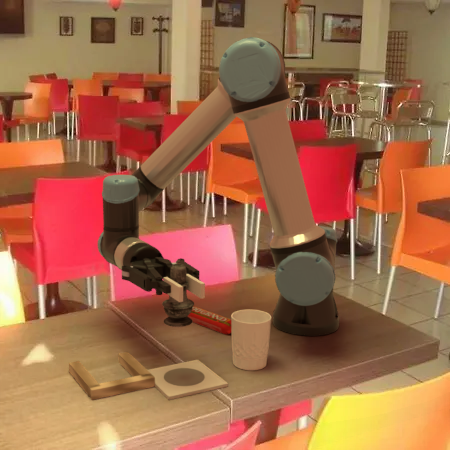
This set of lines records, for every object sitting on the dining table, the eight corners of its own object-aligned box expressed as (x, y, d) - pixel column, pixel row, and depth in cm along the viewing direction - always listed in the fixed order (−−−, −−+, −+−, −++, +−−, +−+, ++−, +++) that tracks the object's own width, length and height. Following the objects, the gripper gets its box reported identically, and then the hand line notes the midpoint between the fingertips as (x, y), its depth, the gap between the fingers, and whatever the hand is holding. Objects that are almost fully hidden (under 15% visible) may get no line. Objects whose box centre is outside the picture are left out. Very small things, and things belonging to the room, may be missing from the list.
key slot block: (127, 360, 143) (127, 351, 142) (154, 386, 132) (154, 377, 131) (69, 371, 137) (68, 362, 137) (92, 399, 126) (91, 390, 126)
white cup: (257, 375, 138) (259, 326, 135) (222, 365, 142) (223, 317, 139) (276, 361, 144) (278, 314, 142) (242, 352, 148) (244, 306, 146)
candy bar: (178, 318, 167) (178, 306, 167) (190, 315, 170) (190, 302, 169) (228, 337, 157) (228, 324, 156) (239, 333, 159) (240, 320, 158)
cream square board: (197, 362, 143) (197, 359, 143) (227, 386, 133) (227, 382, 132) (141, 373, 137) (141, 370, 137) (168, 399, 127) (168, 396, 127)
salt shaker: (189, 328, 129) (190, 264, 126) (158, 325, 130) (157, 261, 127) (197, 317, 135) (198, 255, 132) (167, 315, 136) (167, 253, 133)
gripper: (176, 272, 151) (232, 305, 131) (100, 283, 143) (148, 320, 123) (176, 237, 149) (233, 266, 129) (99, 246, 141) (148, 278, 121)
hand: (192, 292), depth 126 cm, fingers closed on salt shaker, 4 cm apart
